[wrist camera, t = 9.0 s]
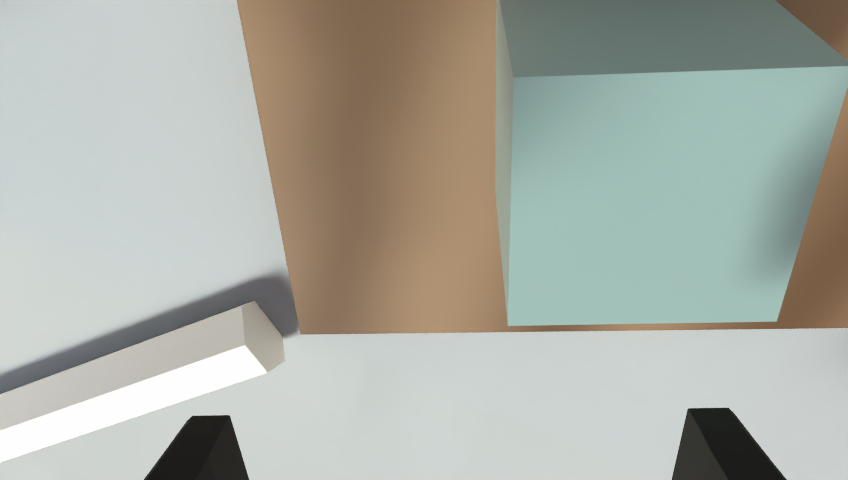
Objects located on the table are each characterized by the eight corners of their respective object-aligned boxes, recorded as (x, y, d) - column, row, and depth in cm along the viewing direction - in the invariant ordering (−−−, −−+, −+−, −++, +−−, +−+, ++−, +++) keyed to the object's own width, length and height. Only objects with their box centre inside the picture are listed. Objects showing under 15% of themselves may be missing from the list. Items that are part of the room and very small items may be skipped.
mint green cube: (494, 190, 18) (507, 325, 14) (496, -17, 15) (513, 77, 11) (701, 184, 18) (776, 321, 14) (742, -27, 15) (854, 65, 11)
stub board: (308, 301, 22) (284, 399, 19) (211, -255, 14) (138, -251, 11) (848, 293, 21) (920, 395, 18) (1070, -301, 13) (1272, -312, 10)
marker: (-84, 423, 28) (269, 293, 23) (-63, 474, 28) (294, 355, 23) (-153, 452, 25) (228, 312, 21) (-130, 508, 25) (255, 381, 21)
